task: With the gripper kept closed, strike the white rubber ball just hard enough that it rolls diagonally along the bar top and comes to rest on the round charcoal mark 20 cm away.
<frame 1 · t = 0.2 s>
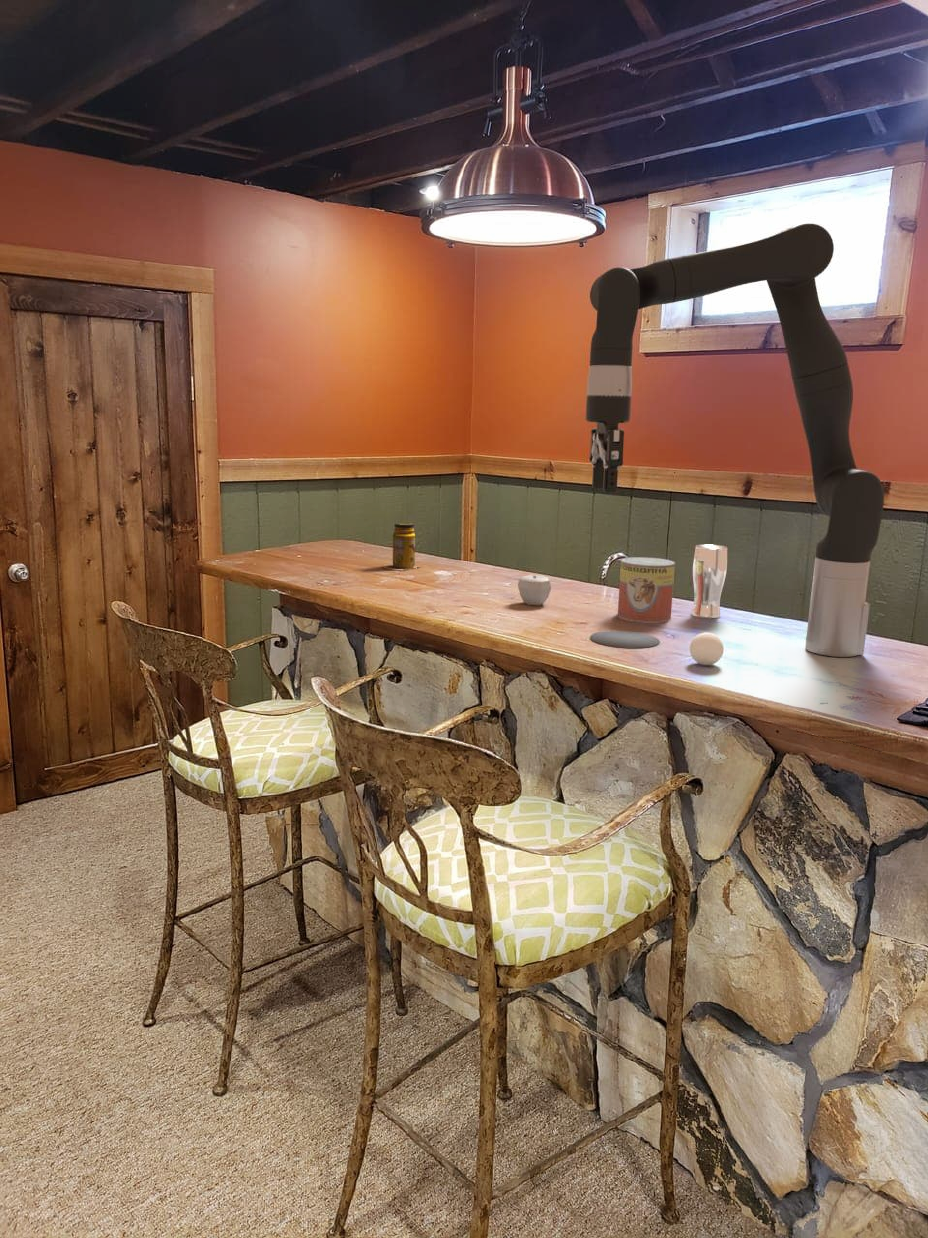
hand: (603, 489, 159), 29 cm above the table, tool pointing down, fingers open, 8 cm apart
apple: (533, 605, 204), on the table
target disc: (624, 639, 173), on the table
ball: (706, 648, 157), on the table
condiment: (400, 568, 248), on the table
canned food: (643, 618, 194), on the table
beer glass: (705, 616, 197), on the table
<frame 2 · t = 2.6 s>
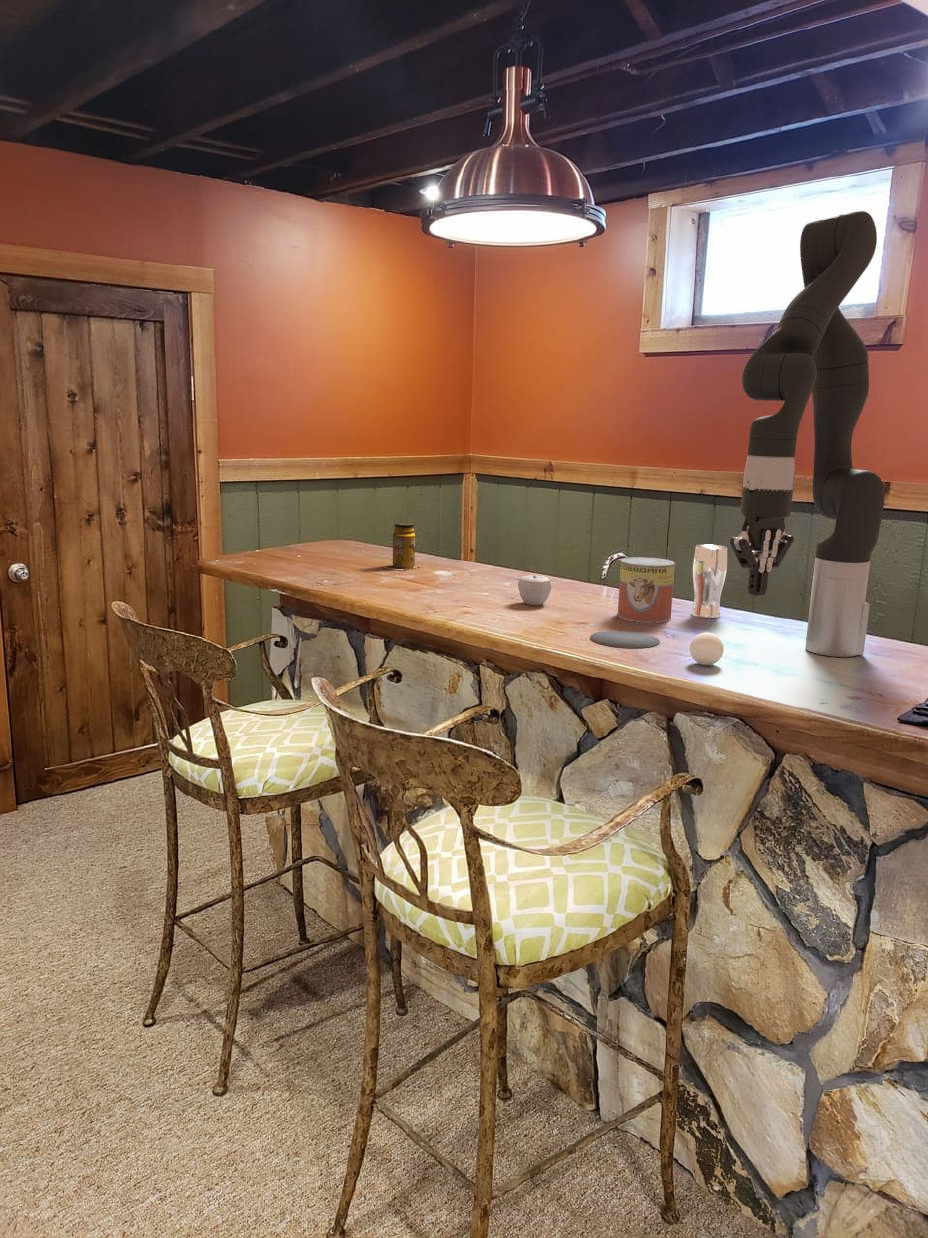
hand: (756, 594, 146), 14 cm above the table, tool pointing down, fingers closed
nothing on the table moved.
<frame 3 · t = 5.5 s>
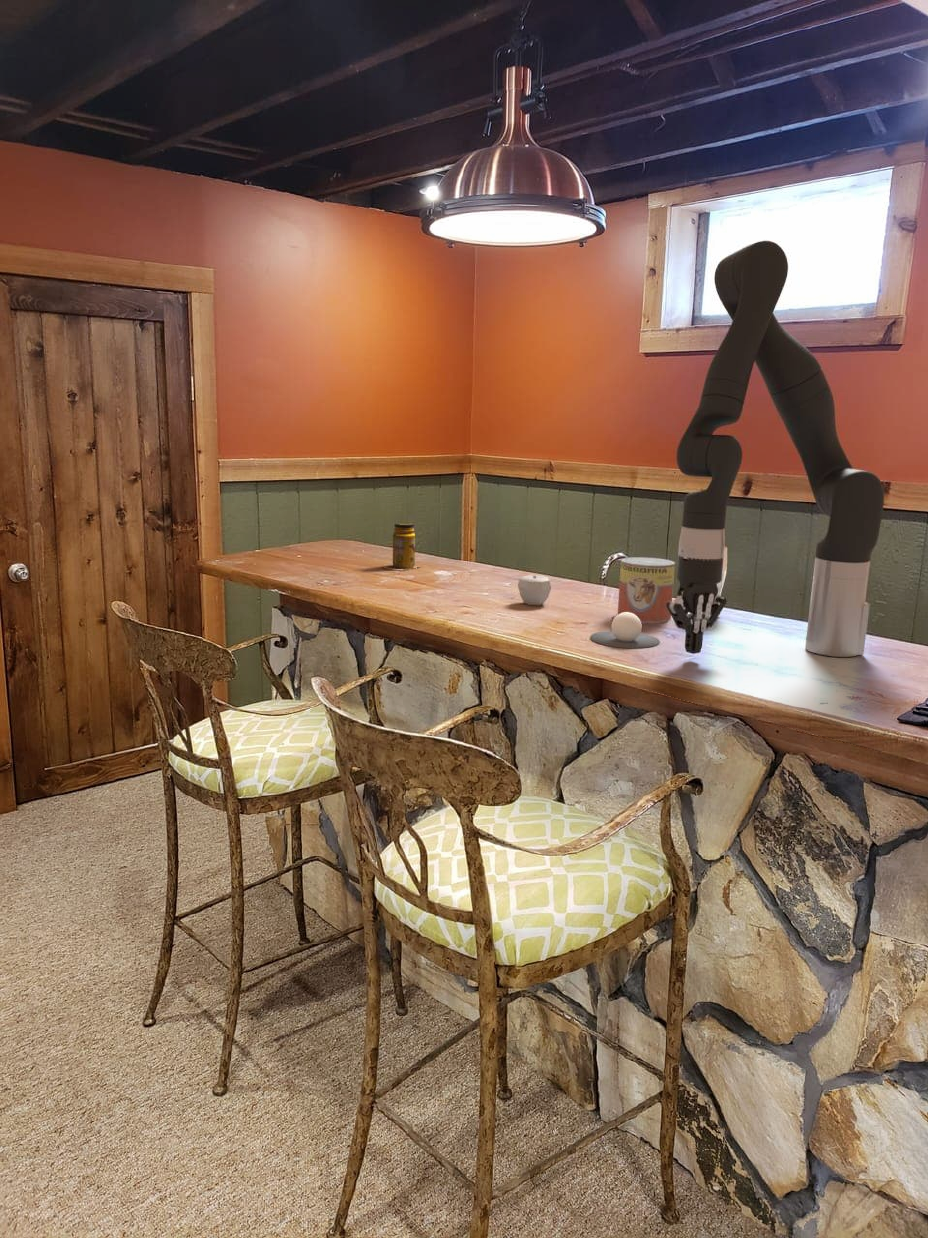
hand: (692, 652, 159), 1 cm above the table, tool pointing down, fingers closed
ball: (626, 627, 171), on the table
everything else where it was.
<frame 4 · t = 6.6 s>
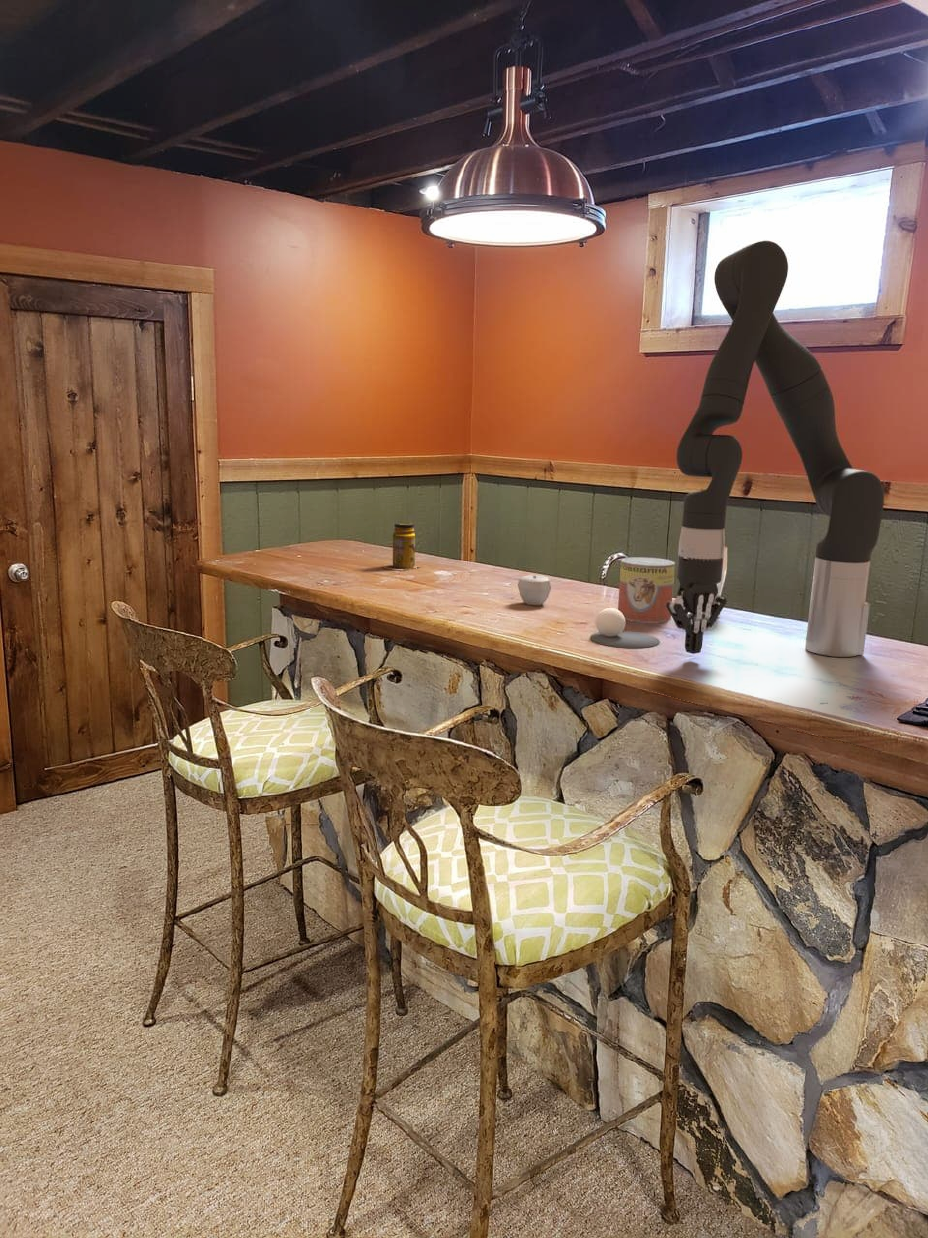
hand: (692, 652, 159), 1 cm above the table, tool pointing down, fingers closed
ball: (610, 622, 175), on the table
everything else where it was.
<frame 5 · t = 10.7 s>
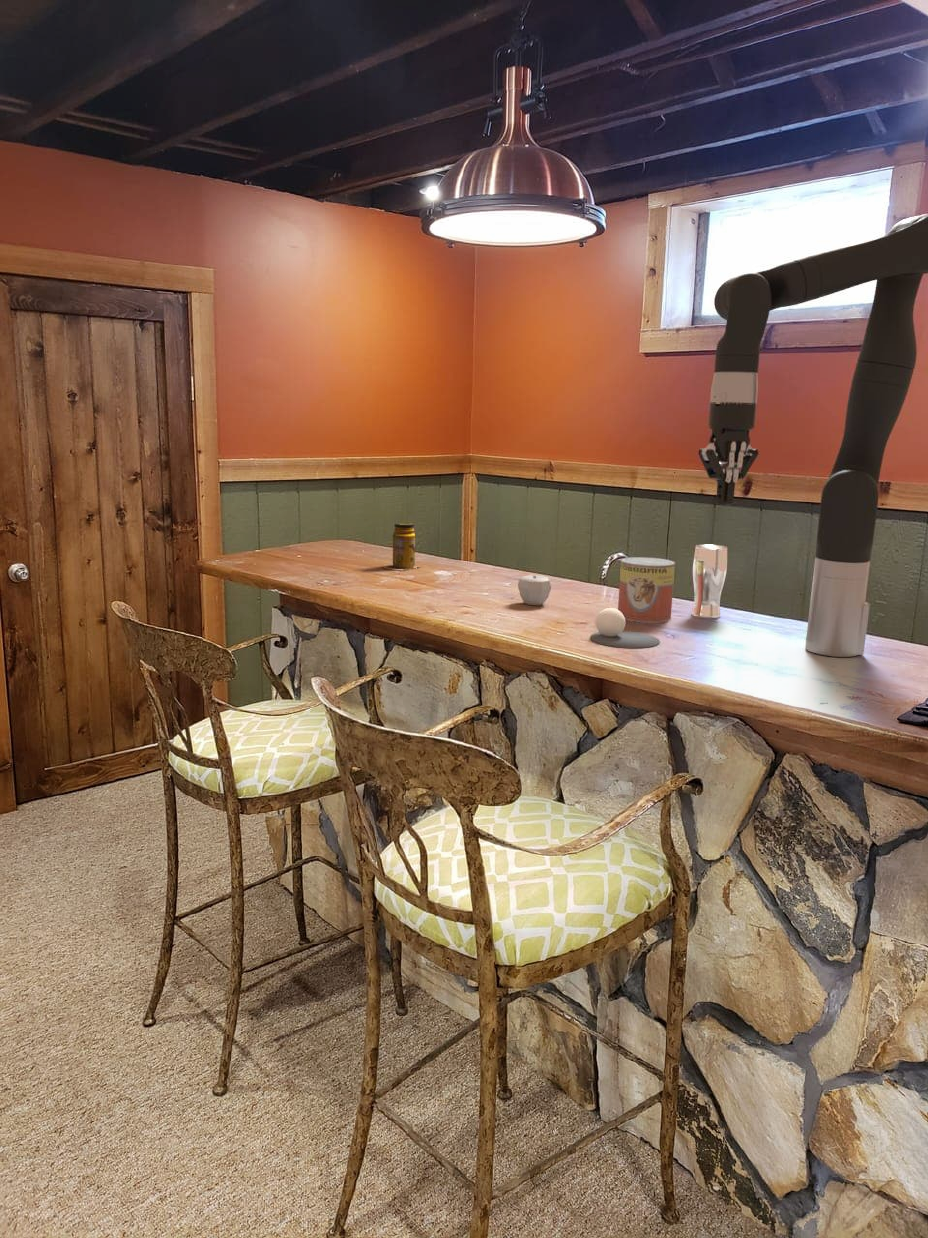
hand: (724, 504, 157), 27 cm above the table, tool pointing down, fingers closed
nothing on the table moved.
at the end: ball 3.4 cm from the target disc (horizontally); ball at rest at the end (0.0 cm/s); ball moved 23.3 cm from its start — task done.
